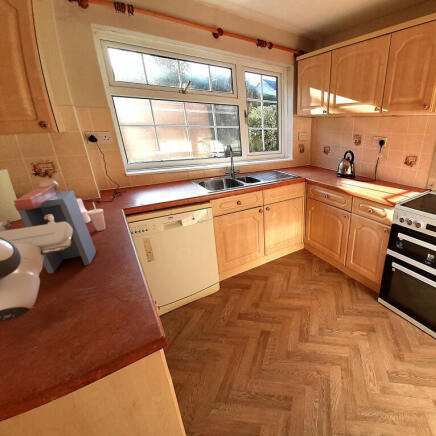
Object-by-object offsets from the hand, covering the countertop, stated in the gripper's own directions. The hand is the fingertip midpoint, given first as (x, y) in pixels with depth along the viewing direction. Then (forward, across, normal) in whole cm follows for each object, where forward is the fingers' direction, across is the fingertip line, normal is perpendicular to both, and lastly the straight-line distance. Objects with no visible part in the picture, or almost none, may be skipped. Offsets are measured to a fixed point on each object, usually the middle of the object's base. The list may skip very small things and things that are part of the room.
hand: (28, 218), depth 71 cm
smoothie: (+30, -4, +45) cm, 55 cm away
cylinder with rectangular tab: (+45, +9, +54) cm, 71 cm away
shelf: (+2, 0, +28) cm, 28 cm away
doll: (+12, 0, +4) cm, 13 cm away
